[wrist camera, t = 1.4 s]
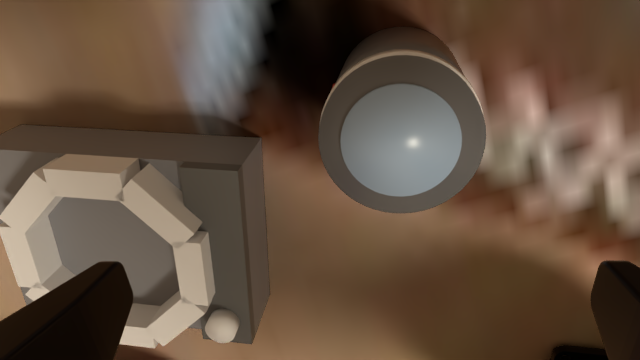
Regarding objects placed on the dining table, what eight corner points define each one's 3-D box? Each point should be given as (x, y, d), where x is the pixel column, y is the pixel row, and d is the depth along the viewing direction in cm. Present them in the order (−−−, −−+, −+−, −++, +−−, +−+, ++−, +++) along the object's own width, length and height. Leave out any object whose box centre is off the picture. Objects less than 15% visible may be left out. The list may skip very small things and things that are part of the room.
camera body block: (261, 137, 22) (230, 181, 18) (270, 294, 26) (246, 358, 22) (20, 124, 23) (-58, 161, 19) (64, 274, 27) (6, 331, 23)
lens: (471, 26, 18) (502, 61, 13) (454, 149, 21) (474, 222, 15) (336, 23, 19) (312, 55, 13) (334, 142, 21) (313, 210, 16)
